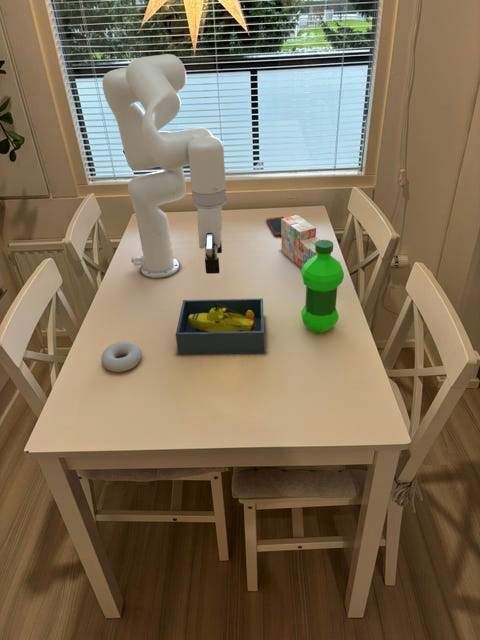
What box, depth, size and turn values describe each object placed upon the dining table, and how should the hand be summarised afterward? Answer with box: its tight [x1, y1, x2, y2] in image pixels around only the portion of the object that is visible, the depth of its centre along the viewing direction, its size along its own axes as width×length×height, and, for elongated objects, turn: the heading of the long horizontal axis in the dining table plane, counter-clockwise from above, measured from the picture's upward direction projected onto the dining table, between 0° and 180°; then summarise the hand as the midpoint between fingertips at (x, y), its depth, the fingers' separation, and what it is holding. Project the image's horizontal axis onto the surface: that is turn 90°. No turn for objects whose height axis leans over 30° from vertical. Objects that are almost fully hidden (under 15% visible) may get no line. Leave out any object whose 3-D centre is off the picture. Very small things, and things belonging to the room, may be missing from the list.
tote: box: [175, 297, 265, 355], centre depth 126 cm, size 22×15×7 cm
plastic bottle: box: [300, 239, 345, 334], centre depth 122 cm, size 10×10×25 cm
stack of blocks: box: [280, 214, 332, 269], centre depth 155 cm, size 21×6×12 cm, turn 24°
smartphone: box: [266, 216, 285, 237], centre depth 180 cm, size 7×1×15 cm
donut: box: [101, 341, 142, 373], centre depth 120 cm, size 10×3×10 cm
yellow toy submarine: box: [188, 302, 256, 332], centre depth 125 cm, size 6×18×10 cm, turn 79°
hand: (214, 262), depth 117 cm, fingers open, 9 cm apart
